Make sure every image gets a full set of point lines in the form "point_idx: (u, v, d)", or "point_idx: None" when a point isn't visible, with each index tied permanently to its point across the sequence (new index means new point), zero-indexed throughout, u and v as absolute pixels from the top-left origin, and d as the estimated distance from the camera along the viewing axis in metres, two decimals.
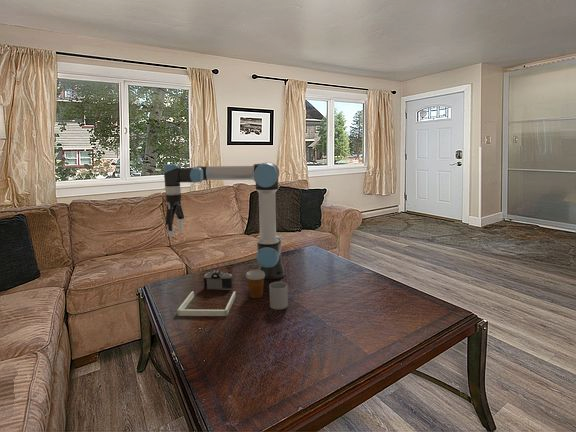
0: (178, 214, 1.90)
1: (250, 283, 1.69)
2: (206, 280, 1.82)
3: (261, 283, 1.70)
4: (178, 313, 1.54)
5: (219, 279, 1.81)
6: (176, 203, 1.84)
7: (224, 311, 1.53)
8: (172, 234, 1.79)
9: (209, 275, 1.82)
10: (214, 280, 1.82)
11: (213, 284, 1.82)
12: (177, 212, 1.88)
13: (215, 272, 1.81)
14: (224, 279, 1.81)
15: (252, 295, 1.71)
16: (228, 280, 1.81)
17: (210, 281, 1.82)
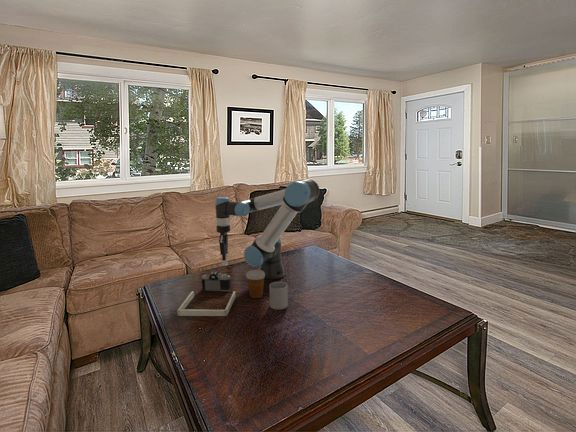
0: None
1: (250, 283, 1.69)
2: (204, 282, 1.81)
3: (261, 283, 1.70)
4: (178, 313, 1.54)
5: (217, 280, 1.80)
6: None
7: (224, 311, 1.53)
8: (225, 263, 1.98)
9: (207, 276, 1.80)
10: (212, 281, 1.80)
11: (212, 286, 1.81)
12: None
13: (213, 273, 1.79)
14: (222, 280, 1.79)
15: (252, 295, 1.71)
16: (226, 281, 1.79)
17: (208, 282, 1.80)
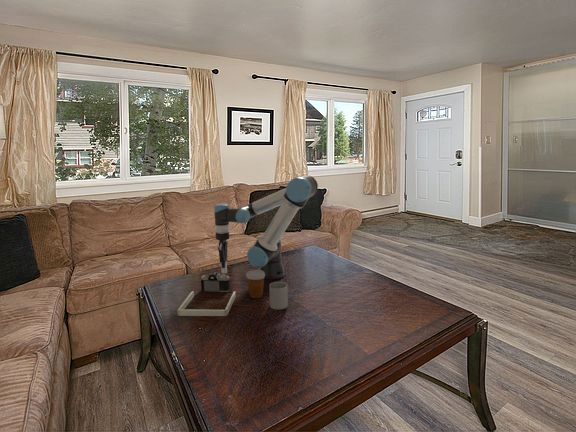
0: None
1: (250, 283, 1.69)
2: (203, 282, 1.80)
3: (261, 283, 1.70)
4: (178, 313, 1.54)
5: (216, 281, 1.79)
6: None
7: (224, 311, 1.53)
8: (225, 271, 1.96)
9: (206, 277, 1.79)
10: (211, 282, 1.79)
11: (211, 286, 1.80)
12: None
13: (212, 274, 1.78)
14: (221, 281, 1.78)
15: (252, 295, 1.71)
16: (225, 282, 1.78)
17: (207, 283, 1.80)
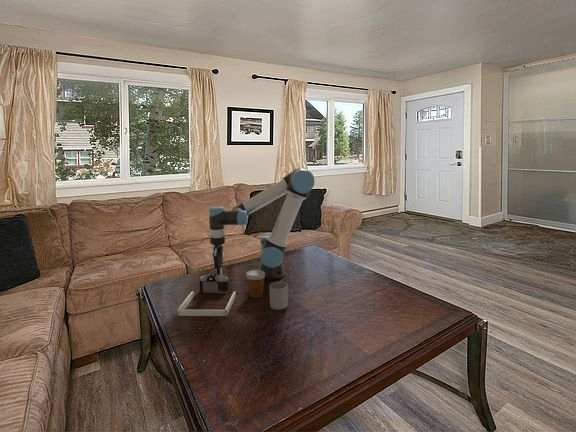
0: None
1: (250, 283, 1.69)
2: (202, 283, 1.78)
3: (261, 283, 1.70)
4: (178, 313, 1.54)
5: (215, 282, 1.77)
6: None
7: (224, 311, 1.53)
8: None
9: (205, 278, 1.78)
10: (210, 283, 1.78)
11: (209, 287, 1.78)
12: None
13: (211, 275, 1.77)
14: (220, 282, 1.77)
15: (252, 295, 1.71)
16: (224, 283, 1.77)
17: (206, 284, 1.78)
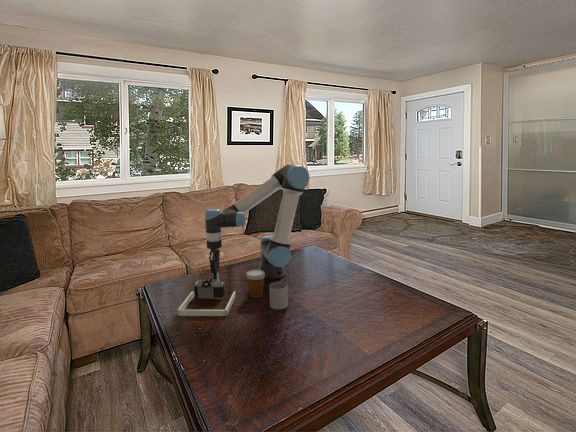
0: None
1: (250, 283, 1.69)
2: (197, 289, 1.71)
3: (261, 283, 1.70)
4: (178, 313, 1.54)
5: (210, 288, 1.70)
6: None
7: (224, 311, 1.53)
8: None
9: (200, 283, 1.71)
10: (205, 289, 1.71)
11: (205, 293, 1.71)
12: None
13: (206, 280, 1.70)
14: (216, 288, 1.70)
15: (252, 295, 1.71)
16: (220, 289, 1.70)
17: (201, 290, 1.71)
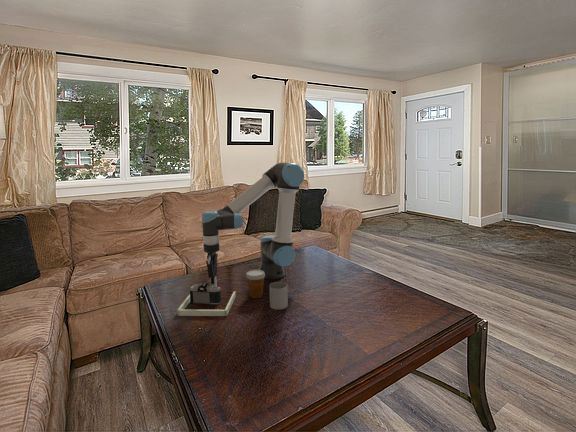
0: None
1: (250, 283, 1.69)
2: (192, 294, 1.66)
3: (261, 283, 1.70)
4: (178, 313, 1.54)
5: (206, 292, 1.65)
6: None
7: (224, 311, 1.53)
8: None
9: (195, 288, 1.65)
10: (201, 293, 1.65)
11: (200, 298, 1.66)
12: None
13: (202, 285, 1.64)
14: (212, 293, 1.64)
15: (252, 295, 1.71)
16: (216, 294, 1.64)
17: (196, 294, 1.66)
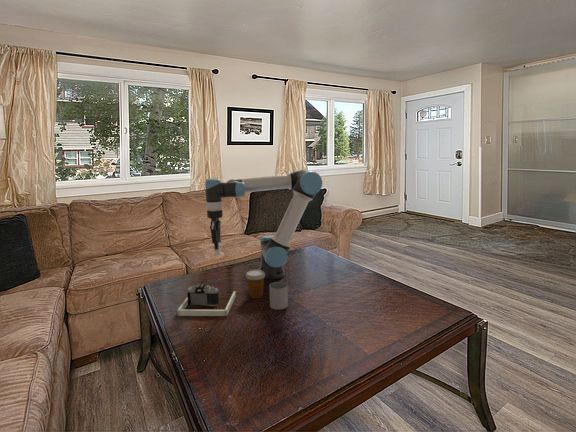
0: None
1: (250, 283, 1.69)
2: (190, 295, 1.64)
3: (261, 283, 1.70)
4: (178, 313, 1.54)
5: (204, 294, 1.63)
6: None
7: (224, 311, 1.53)
8: (218, 252, 1.79)
9: (193, 289, 1.64)
10: (198, 295, 1.63)
11: (198, 300, 1.64)
12: None
13: (199, 286, 1.63)
14: (209, 294, 1.62)
15: (252, 295, 1.71)
16: (213, 295, 1.62)
17: (194, 296, 1.64)
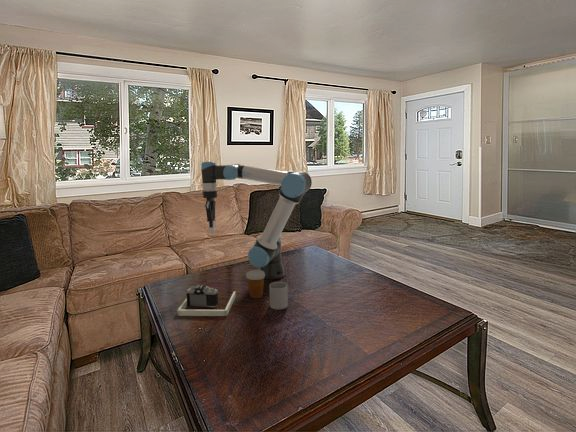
0: None
1: (250, 283, 1.69)
2: (189, 296, 1.63)
3: (261, 283, 1.70)
4: (178, 313, 1.54)
5: (203, 295, 1.62)
6: None
7: (224, 311, 1.53)
8: (212, 230, 1.93)
9: (192, 290, 1.63)
10: (198, 296, 1.62)
11: (197, 301, 1.63)
12: None
13: (199, 287, 1.62)
14: (208, 295, 1.61)
15: (252, 295, 1.71)
16: (213, 296, 1.61)
17: (193, 297, 1.63)
